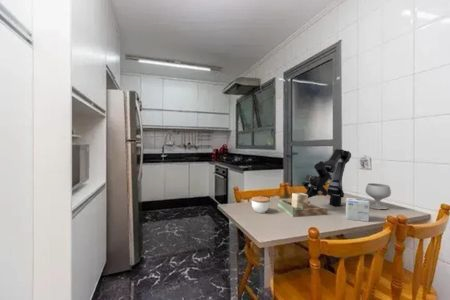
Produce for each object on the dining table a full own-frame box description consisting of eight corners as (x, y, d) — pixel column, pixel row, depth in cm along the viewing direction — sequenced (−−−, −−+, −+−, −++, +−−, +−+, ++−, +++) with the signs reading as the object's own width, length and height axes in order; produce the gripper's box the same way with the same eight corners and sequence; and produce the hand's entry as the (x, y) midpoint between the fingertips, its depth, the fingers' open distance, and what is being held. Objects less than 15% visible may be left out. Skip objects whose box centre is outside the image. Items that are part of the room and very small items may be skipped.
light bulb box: (366, 218, 131) (367, 199, 131) (369, 222, 125) (370, 201, 125) (344, 216, 135) (345, 197, 135) (346, 219, 129) (347, 199, 128)
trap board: (308, 206, 154) (309, 198, 154) (326, 214, 137) (327, 205, 137) (277, 208, 148) (277, 200, 148) (292, 216, 131) (292, 207, 131)
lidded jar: (273, 211, 140) (273, 195, 140) (262, 215, 132) (263, 198, 132) (258, 208, 148) (258, 193, 147) (247, 211, 140) (247, 195, 139)
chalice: (375, 204, 164) (376, 182, 163) (395, 209, 151) (396, 186, 150) (359, 205, 159) (360, 183, 159) (379, 211, 146) (380, 187, 146)
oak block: (301, 205, 146) (302, 192, 146) (307, 208, 140) (307, 194, 140) (291, 206, 144) (291, 193, 144) (297, 209, 138) (297, 195, 138)
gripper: (304, 168, 153) (289, 186, 150) (324, 172, 135) (306, 192, 132) (314, 180, 155) (299, 198, 152) (335, 185, 137) (318, 205, 134)
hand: (305, 198), depth 143 cm, fingers closed, pressing on oak block
